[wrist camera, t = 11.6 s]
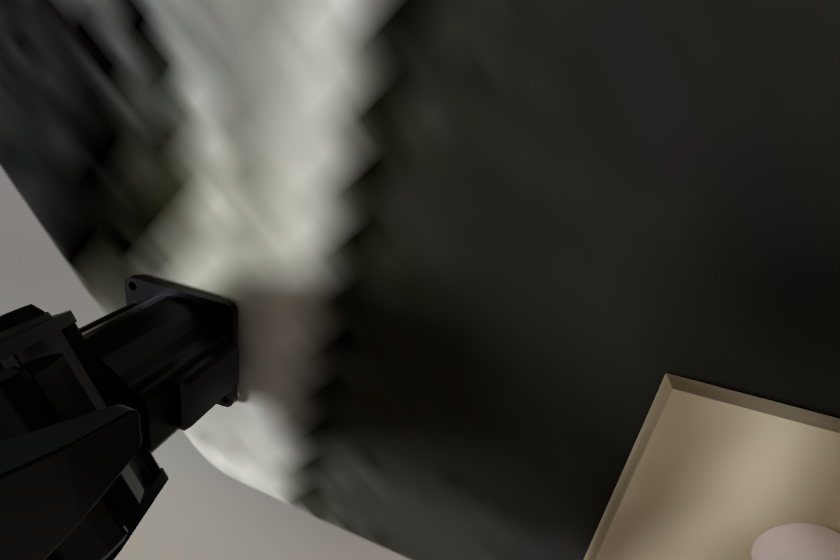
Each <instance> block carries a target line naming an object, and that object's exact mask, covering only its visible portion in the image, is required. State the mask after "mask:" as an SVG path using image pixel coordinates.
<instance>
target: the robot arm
mask: <svg viewBox="0 0 840 560" xmlns="http://www.w3.org/2000/svg"><path fill="white" fill-rule="evenodd" d="M135 284H136V285H135ZM125 293H126V303H127V306H125V307H122V308H120V309H118V310H116V311H114V312H112V313H110V314H108V315H106V316H104V317H102V318H100V319H98V320H96V321H94V322H92V323H89V324H87V325H86V326H83V327H81V328H79V329H78V327H77V325H76V324H75V322H77V320H76V319H75V317H74V315H73V313H72V312H71V310H69V311H65V312H62V313H59V314H56V315H53V316H51V315H50V313H48V312H44V311H42V310H41V309H39V308H37V307H35V306H34V305H32V304H30V305H27V306H24V307H21V308H19V309H16V310H14V311H11V312H9V313H6V314H4V315H1V316H0V560H114V559H115V557H116V556H117V555H118V553H119V552H120V551H121V549H122V548H123V546H124V545H125V544H126V542H127V540H128V539H129V538H130V535H132V533H133V532H134V530H135V529H136V527H137V525H138V524H139V522H140V521H141V519H142V518H143V516H144V515H145V513H146V512H147V510H148V509H149V507H150V506H151V504H152V503H153V501H154V500H155V498H156V497H157V495H158V494H159V492H160V491H161V489H162V488H163V486H164V485H165V483H166V482H167V480H168V476H167V475H166V473H165V471H164V469H163V468H160V467H159V465H158V463H157V462H156V460H155V458H154V457H153V455H152V452H153V451H154V450H156V449H157V448H158V447H159V446H160V445H161V444H162V443H163V442H165V441H166V440H167V439H168V438H169V437H170V436H171V435H172V434H174V433H175V432H176V431H177V430H178V429H181V430H184V431H185V430H186V429H188V428H190V427H191V426H192V425H193V424H194V423H196V422H197V421H198V420H199V419H200V418H201V417H202V416H203V415H204V414H205V413H206V412H208V411H209V410H210V409H211V408H212V407H213V406H214V405H215V404H219V405H222V406H225V407H229V406H231V405H232V404H233V403H234V402H235V401H236V400H237V384H238V382H239V346H238V310H237V307H236V305H235V304H234V303H233V302H231V301H229V300H225V299H221V298H218V297H214V296H211V295H207V294H204V293H200V292H196V291H193V290H189V289H186V288H182V287H179V286H175V285H171V284H168V283H164V282H161V281H157V280H153V279H150V278H146V277H143V276H139V275H134V276H131V277H129V278H127V279H126V280H125ZM225 309H227V310H228V312H229V313H227V312H226V310H225ZM226 396H227V397H228V398H227V397H226Z"/></svg>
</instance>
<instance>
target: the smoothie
mask: <svg viewBox="0 0 840 560" xmlns="http://www.w3.org/2000/svg"><path fill="white" fill-rule="evenodd" d="M751 558H752V560H840V534H839V533H837V532H836V531H834V530H832V529H829V528H827V527H824V526H821V525H816V524H810V523H790V524H784V525H780V526H776V527H774V528H771V529H769V530H767V531H766V532H764V533H763V534H761V535H760V536H759V537H758V538H757V539H756V541H755V542H754V544H753V546H752V549H751Z"/></svg>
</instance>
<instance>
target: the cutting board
mask: <svg viewBox="0 0 840 560" xmlns="http://www.w3.org/2000/svg"><path fill="white" fill-rule="evenodd" d="M790 523H810V524H816V525H821V526H824V527H827V528H829V529H832V530H834V531H836V532H837V533H839V534H840V419H839V418H835V417H832V416H828V415H824V414H820V413H816V412H813V411H809V410H805V409H801V408H797V407H794V406H790V405H786V404H782V403H778V402H775V401H771V400H767V399H763V398H759V397H755V396H752V395H748V394H744V393H740V392H736V391H733V390H729V389H725V388H721V387H717V386H714V385H710V384H706V383H702V382H698V381H694V380H691V379H687V378H683V377H679V376H675V375H672V374H668V373H666V374H665V376H664V379H663V381H662V383H661V385H660V388H659V390H658V392H657V394H656V397H655V399H654V401H653V403H652V406H651V408H650V410H649V412H648V415H647V417H646V419H645V422H644V424H643V426H642V428H641V431H640V433H639V435H638V437H637V440H636V442H635V444H634V446H633V449H632V451H631V453H630V455H629V458H628V460H627V462H626V465H625V467H624V469H623V471H622V474H621V476H620V478H619V480H618V483H617V485H616V487H615V489H614V492H613V494H612V496H611V498H610V501H609V503H608V505H607V507H606V510H605V512H604V514H603V517H602V519H601V521H600V523H599V526H598V528H597V530H596V532H595V535H594V537H593V539H592V541H591V544H590V546H589V548H588V550H587V553H586V555H585V557H584V560H752V558H751V549H752V546H753V544H754V542H755V541H756V539H757V538H758V537H759V536H760V535H761V534H763V533H764V532H766V531H767V530H769V529H771V528H774V527H776V526H780V525H784V524H790Z"/></svg>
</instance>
